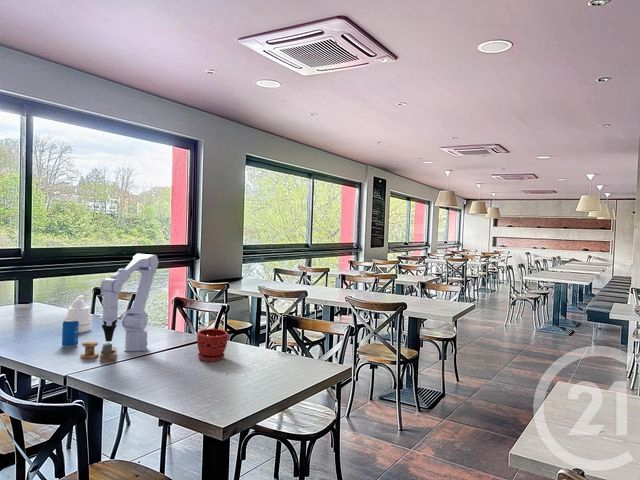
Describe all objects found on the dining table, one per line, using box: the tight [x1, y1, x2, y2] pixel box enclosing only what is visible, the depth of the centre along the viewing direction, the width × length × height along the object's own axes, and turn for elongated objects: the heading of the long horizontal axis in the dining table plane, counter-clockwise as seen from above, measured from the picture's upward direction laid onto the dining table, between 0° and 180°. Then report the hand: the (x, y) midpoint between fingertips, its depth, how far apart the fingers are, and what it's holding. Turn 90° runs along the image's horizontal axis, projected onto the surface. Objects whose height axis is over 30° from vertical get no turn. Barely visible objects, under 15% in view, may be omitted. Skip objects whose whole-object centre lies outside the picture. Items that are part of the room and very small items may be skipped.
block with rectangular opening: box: [99, 346, 118, 363], centre depth 202 cm, size 6×12×3 cm, turn 22°
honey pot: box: [64, 295, 92, 333], centre depth 246 cm, size 13×13×18 cm
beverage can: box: [61, 319, 79, 349], centre depth 216 cm, size 6×6×12 cm
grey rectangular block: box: [102, 342, 113, 354], centre depth 200 cm, size 4×4×7 cm
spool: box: [79, 340, 100, 360], centre depth 202 cm, size 7×7×6 cm
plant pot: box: [196, 328, 229, 362], centre depth 209 cm, size 13×13×12 cm
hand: (109, 338), depth 200 cm, fingers open, 7 cm apart
